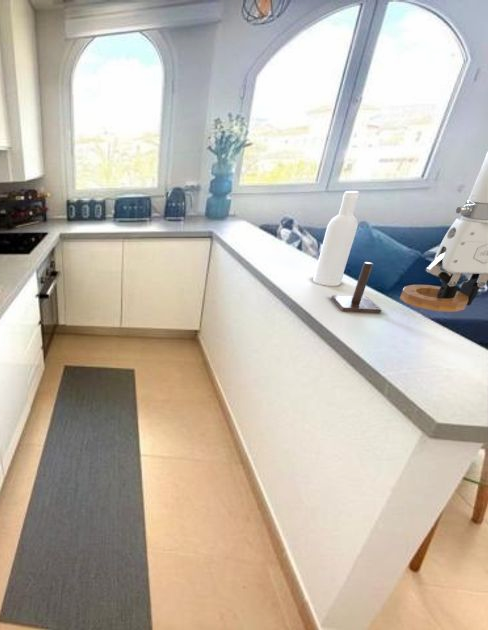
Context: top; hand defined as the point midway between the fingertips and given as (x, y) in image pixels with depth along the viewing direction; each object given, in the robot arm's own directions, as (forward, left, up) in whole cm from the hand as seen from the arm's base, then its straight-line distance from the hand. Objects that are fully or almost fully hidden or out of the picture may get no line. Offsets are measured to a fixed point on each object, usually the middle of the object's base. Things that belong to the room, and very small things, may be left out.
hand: (453, 301), depth 71 cm
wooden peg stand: (+4, -27, -14) cm, 31 cm away
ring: (+4, 0, 0) cm, 4 cm away
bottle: (+5, -47, -14) cm, 49 cm away
